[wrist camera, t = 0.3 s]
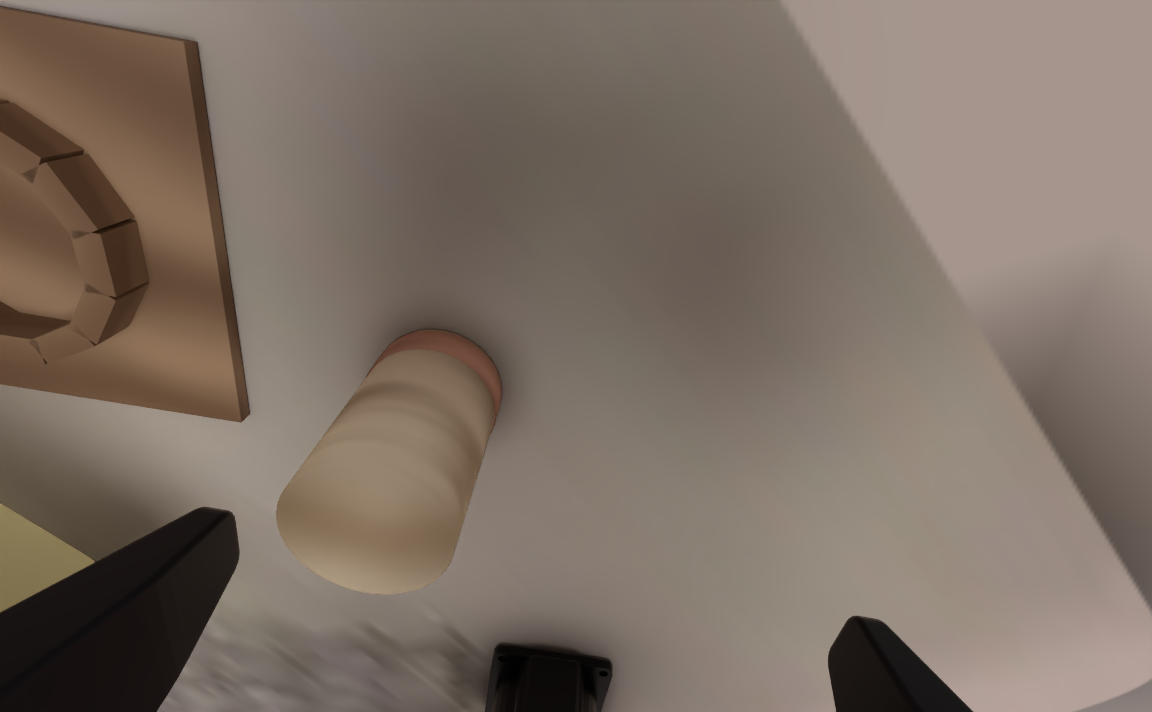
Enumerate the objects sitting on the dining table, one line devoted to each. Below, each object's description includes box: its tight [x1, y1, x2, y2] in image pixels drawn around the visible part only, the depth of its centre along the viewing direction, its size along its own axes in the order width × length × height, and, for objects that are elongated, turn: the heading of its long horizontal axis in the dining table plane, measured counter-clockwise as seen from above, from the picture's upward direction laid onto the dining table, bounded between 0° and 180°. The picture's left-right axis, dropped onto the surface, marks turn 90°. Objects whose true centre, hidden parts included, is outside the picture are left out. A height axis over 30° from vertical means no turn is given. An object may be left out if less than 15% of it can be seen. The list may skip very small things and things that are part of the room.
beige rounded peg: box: [276, 330, 502, 594], centre depth 19 cm, size 5×5×8 cm
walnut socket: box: [0, 6, 249, 422], centre depth 19 cm, size 14×14×2 cm
